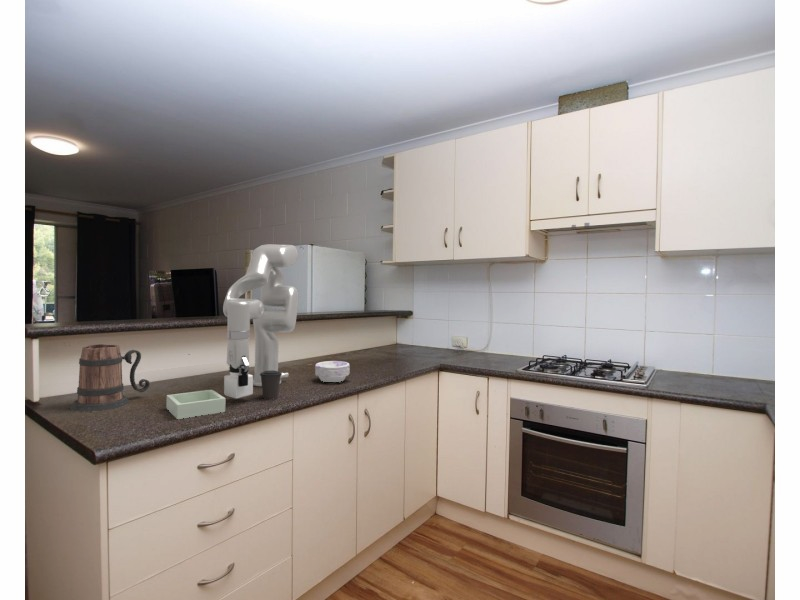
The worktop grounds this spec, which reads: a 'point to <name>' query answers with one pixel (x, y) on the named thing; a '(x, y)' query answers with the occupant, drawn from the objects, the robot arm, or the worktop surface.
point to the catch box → (195, 404)
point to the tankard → (104, 378)
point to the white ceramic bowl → (332, 371)
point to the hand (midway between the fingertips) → (238, 383)
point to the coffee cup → (270, 384)
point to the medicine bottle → (232, 384)
